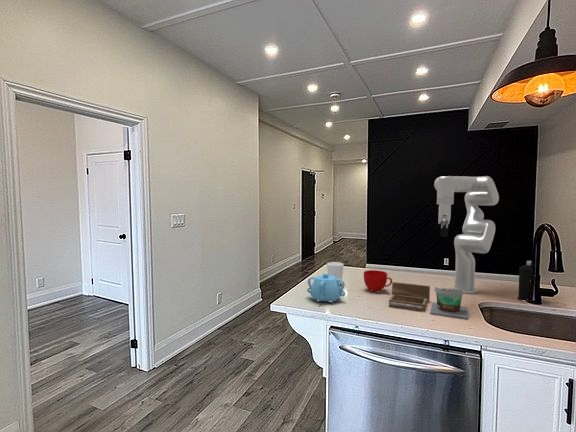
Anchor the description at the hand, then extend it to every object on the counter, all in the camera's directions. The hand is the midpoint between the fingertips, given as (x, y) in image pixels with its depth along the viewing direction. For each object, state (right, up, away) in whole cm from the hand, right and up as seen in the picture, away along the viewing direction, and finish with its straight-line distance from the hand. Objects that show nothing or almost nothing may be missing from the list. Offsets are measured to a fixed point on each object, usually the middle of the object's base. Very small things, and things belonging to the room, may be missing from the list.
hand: (444, 235), depth 161 cm
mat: (-4, -34, -13) cm, 37 cm away
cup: (-50, -32, +34) cm, 68 cm away
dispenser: (-19, -34, -2) cm, 39 cm away
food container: (-5, -34, -14) cm, 37 cm away
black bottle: (+43, -33, +2) cm, 54 cm away
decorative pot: (-59, -34, +6) cm, 68 cm away
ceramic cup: (-28, -33, +20) cm, 47 cm away
